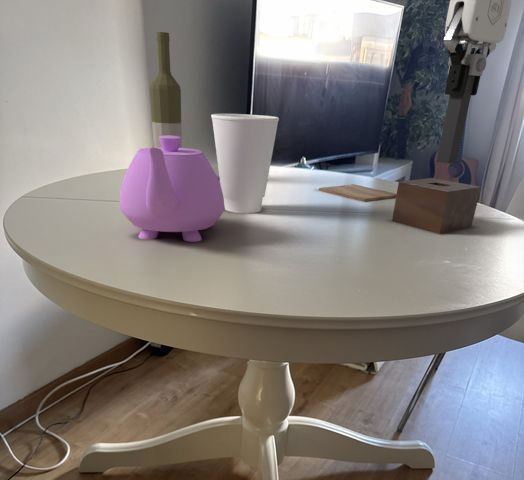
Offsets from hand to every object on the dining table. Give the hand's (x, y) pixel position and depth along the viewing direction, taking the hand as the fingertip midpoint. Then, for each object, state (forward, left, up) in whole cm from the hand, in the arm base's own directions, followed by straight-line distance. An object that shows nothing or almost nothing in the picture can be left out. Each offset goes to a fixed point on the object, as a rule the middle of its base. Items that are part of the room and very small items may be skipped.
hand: (460, 93), depth 77 cm
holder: (0, 0, -21) cm, 21 cm away
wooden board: (-10, -27, -21) cm, 35 cm away
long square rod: (0, 0, -10) cm, 10 cm away
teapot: (+44, -17, -21) cm, 52 cm away
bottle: (+20, -62, -21) cm, 68 cm away
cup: (+24, -26, -21) cm, 41 cm away
